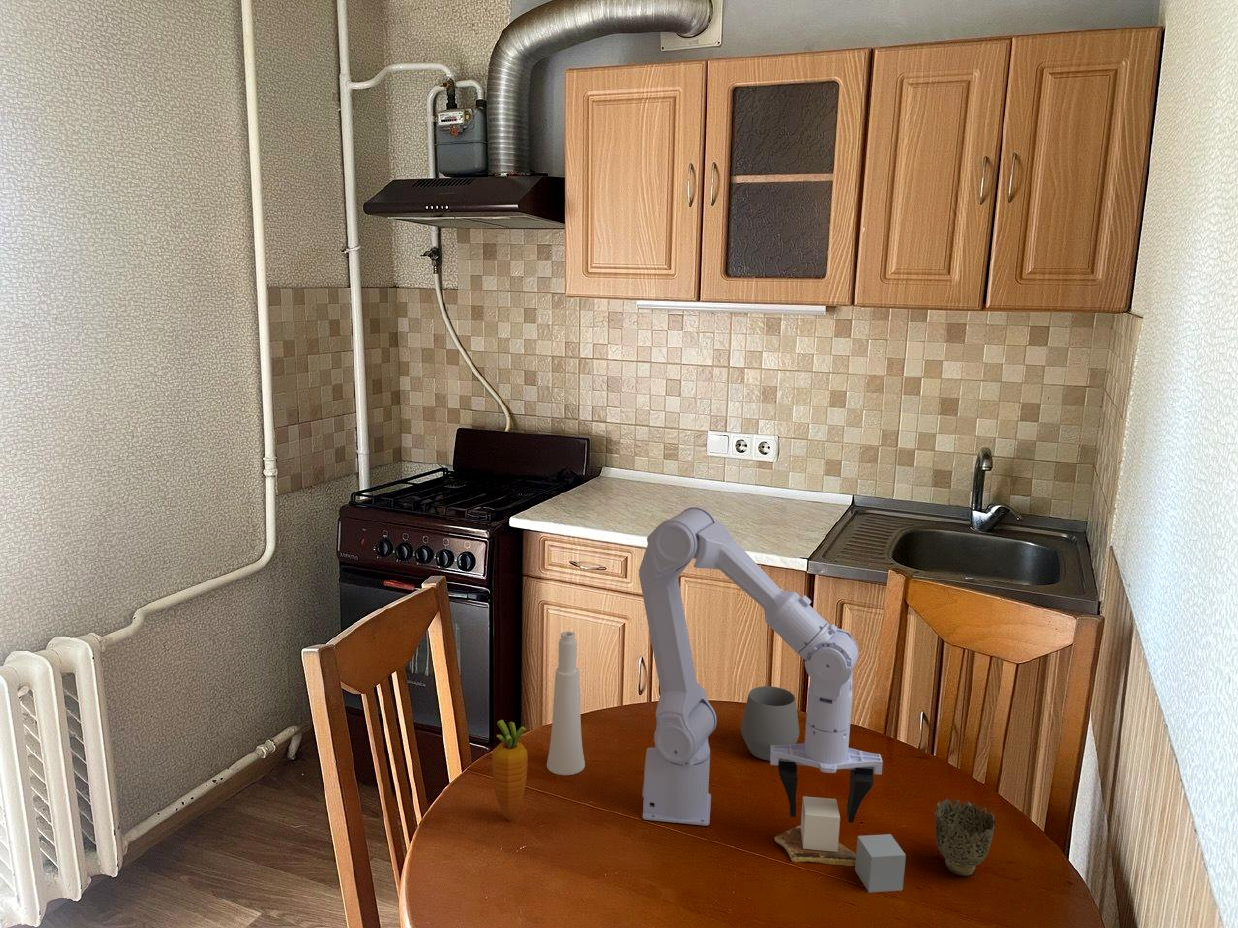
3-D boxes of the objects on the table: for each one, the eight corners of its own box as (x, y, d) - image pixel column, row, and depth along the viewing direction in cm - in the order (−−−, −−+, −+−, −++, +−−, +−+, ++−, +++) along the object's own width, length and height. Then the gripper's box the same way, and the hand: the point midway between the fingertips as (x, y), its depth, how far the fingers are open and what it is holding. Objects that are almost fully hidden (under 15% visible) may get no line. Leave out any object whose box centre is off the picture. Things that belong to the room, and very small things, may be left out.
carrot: (534, 820, 127) (535, 721, 124) (507, 834, 123) (507, 733, 120) (511, 806, 130) (512, 709, 127) (484, 819, 126) (484, 721, 124)
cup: (802, 768, 143) (806, 709, 141) (743, 766, 143) (747, 708, 141) (791, 739, 152) (795, 684, 150) (736, 737, 152) (739, 682, 150)
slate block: (868, 892, 113) (871, 856, 112) (854, 870, 117) (857, 835, 117) (902, 890, 114) (905, 854, 113) (887, 868, 118) (890, 833, 117)
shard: (868, 871, 118) (869, 858, 118) (830, 892, 114) (831, 880, 113) (806, 831, 127) (806, 819, 126) (768, 850, 122) (769, 838, 122)
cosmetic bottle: (574, 752, 146) (576, 624, 142) (591, 770, 141) (594, 637, 137) (540, 761, 143) (541, 630, 139) (557, 779, 138) (559, 643, 134)
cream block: (803, 848, 120) (805, 814, 119) (800, 828, 124) (802, 796, 123) (837, 851, 119) (840, 817, 118) (833, 831, 124) (836, 798, 123)
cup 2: (983, 895, 113) (990, 837, 112) (923, 874, 117) (929, 818, 115) (994, 864, 119) (1000, 809, 118) (937, 845, 123) (942, 792, 122)
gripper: (773, 731, 116) (768, 827, 118) (889, 741, 114) (880, 838, 117) (771, 707, 123) (766, 798, 125) (880, 716, 121) (872, 808, 123)
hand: (821, 815), depth 121 cm, fingers open, 7 cm apart
